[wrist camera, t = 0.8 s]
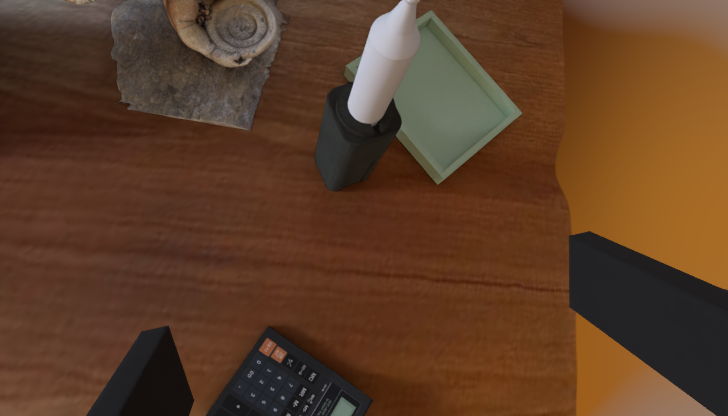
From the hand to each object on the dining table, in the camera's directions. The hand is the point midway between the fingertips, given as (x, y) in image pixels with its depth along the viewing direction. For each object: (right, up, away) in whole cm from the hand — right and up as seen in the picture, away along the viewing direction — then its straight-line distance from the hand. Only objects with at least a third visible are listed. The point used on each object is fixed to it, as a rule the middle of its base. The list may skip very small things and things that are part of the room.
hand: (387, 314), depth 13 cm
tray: (+7, +16, +34) cm, 39 cm away
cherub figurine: (-19, +21, +30) cm, 41 cm away
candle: (-3, +8, +30) cm, 31 cm away
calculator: (-8, -15, +24) cm, 29 cm away
